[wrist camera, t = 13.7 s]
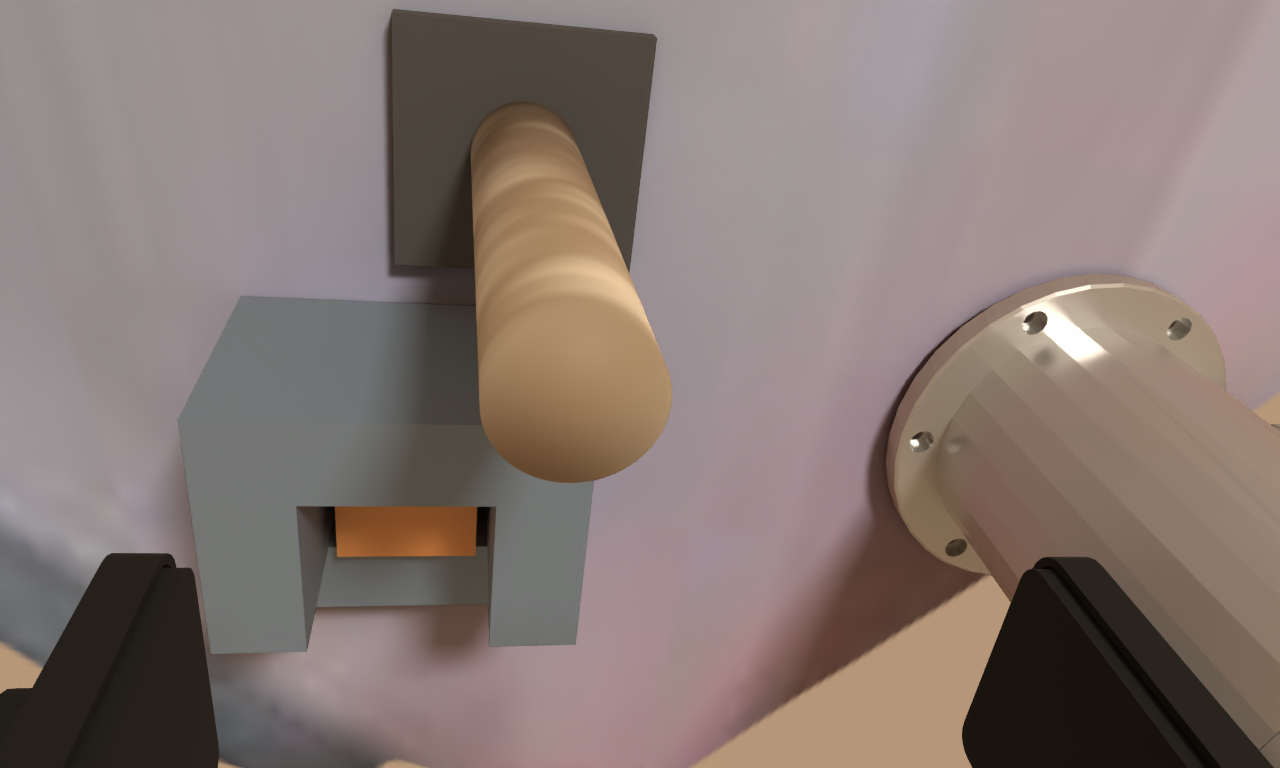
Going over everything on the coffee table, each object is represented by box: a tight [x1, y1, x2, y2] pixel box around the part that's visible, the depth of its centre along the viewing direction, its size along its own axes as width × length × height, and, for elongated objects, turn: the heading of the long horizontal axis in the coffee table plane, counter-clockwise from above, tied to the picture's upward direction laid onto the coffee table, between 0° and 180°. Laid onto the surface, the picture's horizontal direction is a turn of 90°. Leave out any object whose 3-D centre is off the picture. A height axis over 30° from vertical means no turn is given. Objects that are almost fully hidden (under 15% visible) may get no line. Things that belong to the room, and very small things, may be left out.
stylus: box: [471, 101, 672, 483], centre depth 21 cm, size 3×3×14 cm
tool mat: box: [392, 9, 657, 272], centre depth 27 cm, size 7×7×1 cm
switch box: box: [178, 296, 594, 654], centre depth 29 cm, size 10×10×7 cm
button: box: [335, 506, 477, 557], centre depth 30 cm, size 4×4×2 cm
